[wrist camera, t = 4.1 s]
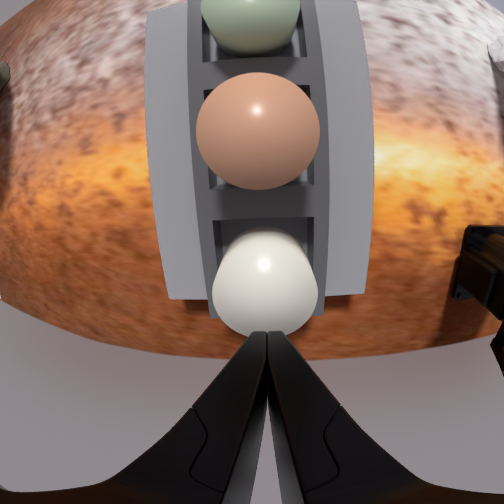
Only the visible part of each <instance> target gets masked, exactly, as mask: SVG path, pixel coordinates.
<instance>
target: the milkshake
mask: <svg viewBox="0 0 504 504" xmlns="http://www.w3.org/2000/svg"><path fill="white" fill-rule="evenodd" d="M488 52H489V54H490V56H491V59H492V61H493V63H494V64H495V65H496V66H497V68H498V69H499V70H500V71H502V72H504V35H502V36H500V37H497V38H495V39H493V40H491V41H490V42H489V43H488Z"/></svg>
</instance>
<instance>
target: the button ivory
mask: <svg viewBox="0 0 504 504" xmlns="http://www.w3.org/2000/svg"><path fill="white" fill-rule="evenodd" d="M317 298H318V288H317V283H316V280H315V277H314V274H313V271H312V269H311V266H310V263H309V261H308V258H307V255H306V253H305V251H304V249H303V247H302V245H301V244H300V242H299V241H298V240H297V239H296V238H295V237H293V236H292V235H291V234H289V233H288V232H286V231H284V230H281V229H278V228H274V227H256V228H252V229H249V230H246V231H244V232H243V233H241V234H239V235H238V236H237V237H235V238H234V239H233V240H232V241H231V243H230V244H229V245H228V247H227V249H226V251H225V253H224V256H223V258H222V261H221V264H220V266H219V269H218V272H217V274H216V277H215V280H214V283H213V288H212V299H213V304H214V307H215V309H216V311H217V313H218V315H219V317H220V318H221V319H222V321H223V322H224V323H225V324H226V325H227V326H229V327H230V328H231V329H233V330H234V331H236V332H238V333H240V334H242V335H245V336H247V337H248V336H249V335H250V334H251V332H253V331H266V332H267V333H268V331H277V330H281V331H283V333H284V334H285V335H288V334H290V333H292V332H294V331H296V330H297V329H298V328H300V327H301V326H302V325H303V324H304V323H306V321H307V320H308V319H309V318H310V316H311V315H312V313H313V311H314V309H315V307H316V303H317Z"/></svg>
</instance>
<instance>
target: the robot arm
mask: <svg viewBox="0 0 504 504" xmlns="http://www.w3.org/2000/svg"><path fill="white" fill-rule="evenodd" d="M471 230H472V232H471ZM452 297H453V298H454V299H455V300H462V299H468V298H473V297H474V298H475V299H476V300H477V301H478V302H480V303H481V304H482V305H483V306H485V307H486V308H487V309H488V310H489V311H490V312H491V313H492V314H493V315H494V316H495V317H496V318H497V319H498V320H501V321H502V324H501V326H500V328H499V330H498V332H497V334H496V336H495V338H493V340H492V342H491V344H490V346H491V348H492V350H493V353H494V355H495V357H496V359H497V361H498V364H499V366H500V368H501V371H502V373H503V376H504V226H499V225H469V226H468V227H467V228H466V233H465V239H464V245H463V250H462V255H461V260H460V264H459V269H458V273H457V277H456V281H455V285H454V289H453V292H452ZM267 398H268V407H269V415H270V422H271V428H272V435H273V442H274V450H275V457H276V464H277V471H278V478H279V484H280V491H281V498H282V504H504V494H492V493H481V492H471V491H465V490H458V489H452V488H447V487H442V486H437V485H434V484H431V483H428V482H426V481H424V480H422V479H420V478H418V477H416V476H415V475H414V474H413V473H411V472H410V471H408V470H407V469H406V468H405V467H404V466H403V465H401V464H400V463H399V462H398V461H397V460H396V459H394V458H393V457H392V456H391V455H390V454H388V453H387V452H386V451H385V450H384V449H383V448H382V447H380V446H379V445H378V444H377V443H376V442H375V441H374V440H373V439H372V438H371V437H369V436H368V435H367V434H366V433H365V432H364V431H363V430H362V429H361V428H360V426H359V425H357V423H356V422H355V421H354V420H353V419H352V418H351V416H350V415H349V414H348V413H347V412H346V410H345V409H344V408H343V407H342V406H340V403H339V402H338V401H337V399H336V398H335V397H334V396H333V394H332V393H331V392H330V391H329V390H328V389H327V387H326V386H325V385H324V383H323V382H322V381H321V380H320V378H319V377H318V376H317V375H316V373H315V372H314V371H313V370H312V368H311V367H310V366H309V365H308V363H307V362H306V361H305V359H304V358H303V357H302V356H301V354H300V353H299V352H298V350H297V349H296V348H295V347H294V345H293V344H292V343H291V342H290V340H289V339H288V338H287V336H286V335H285V334H284V333H283V331H281V330H277V331H268V333H267V332H266V331H253V332H251V334H250V335H249V336H248V338H247V339H246V340H245V341H244V343H243V344H242V345H241V347H240V348H239V349H238V350H237V352H236V353H235V354H234V355H233V357H232V358H231V359H230V360H229V362H228V363H227V364H226V366H225V367H224V368H223V369H222V371H221V372H220V373H219V374H218V375H217V377H216V378H215V379H214V380H213V382H212V383H211V384H210V385H209V386H208V388H207V389H206V390H205V391H204V392H203V393H202V395H201V396H200V397H199V398H198V400H197V401H196V402H195V403H194V404H193V405H192V408H190V409H189V410H188V411H187V412H186V413H185V415H184V416H183V417H182V418H181V419H180V420H179V421H178V422H177V423H176V424H175V426H174V427H172V429H171V430H170V431H169V432H167V433H166V434H165V435H164V436H163V437H162V438H161V439H160V440H159V441H157V442H156V443H155V444H154V445H153V446H152V447H150V448H149V449H148V450H147V451H146V452H144V453H143V454H142V455H141V456H139V457H138V458H137V459H136V460H134V461H133V462H132V463H131V464H129V465H128V466H127V467H125V468H124V469H123V470H121V471H120V472H119V473H117V474H116V475H114V476H113V477H111V478H109V479H107V480H105V481H103V482H100V483H98V484H94V485H90V486H84V487H78V488H71V489H63V490H54V491H41V492H12V491H8V490H7V489H5V488H4V487H3V486H1V485H0V504H250V501H251V496H252V490H253V485H254V480H255V475H256V469H257V464H258V458H259V452H260V447H261V441H262V434H263V428H264V422H265V416H266V409H267Z"/></svg>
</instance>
